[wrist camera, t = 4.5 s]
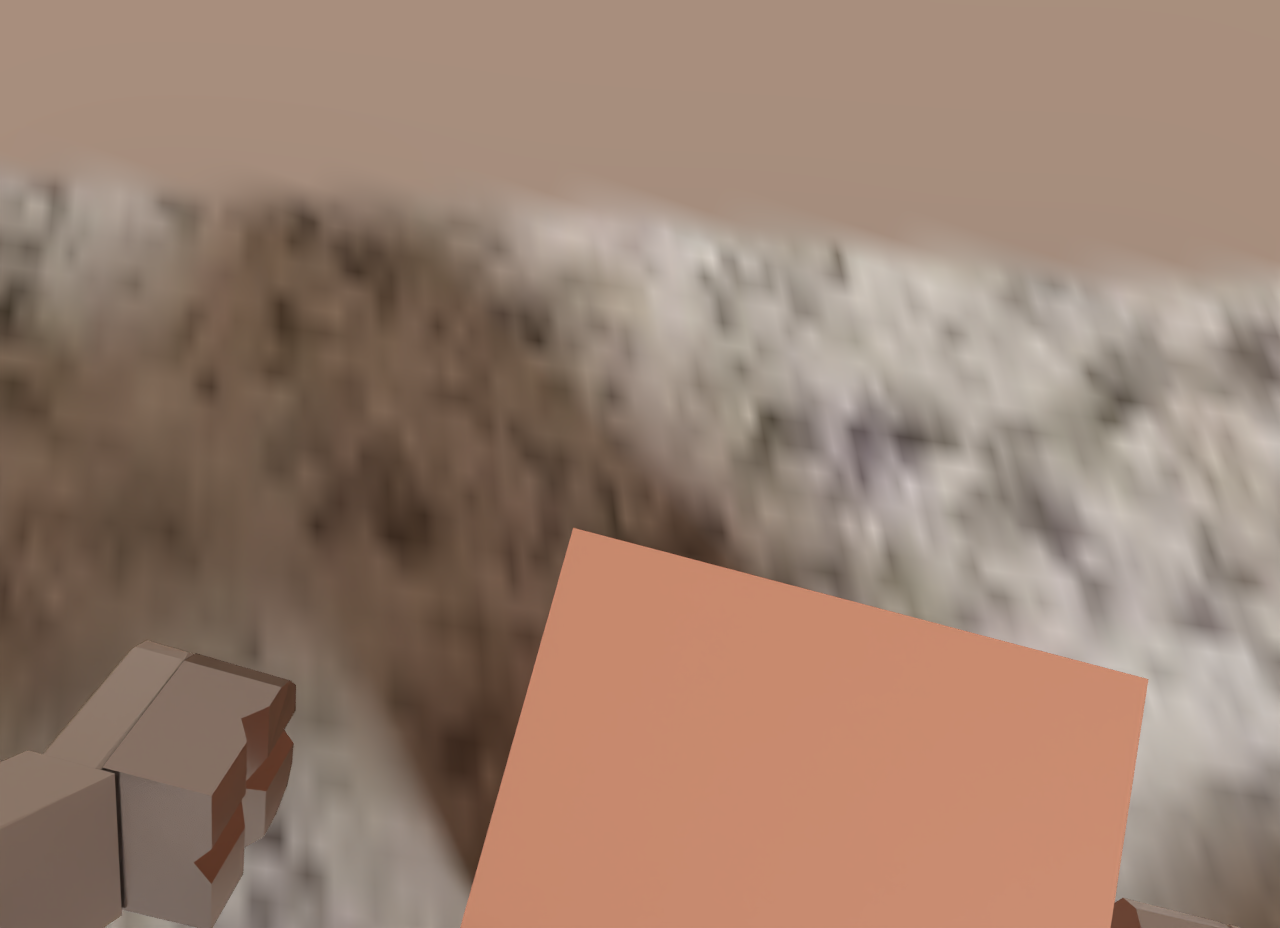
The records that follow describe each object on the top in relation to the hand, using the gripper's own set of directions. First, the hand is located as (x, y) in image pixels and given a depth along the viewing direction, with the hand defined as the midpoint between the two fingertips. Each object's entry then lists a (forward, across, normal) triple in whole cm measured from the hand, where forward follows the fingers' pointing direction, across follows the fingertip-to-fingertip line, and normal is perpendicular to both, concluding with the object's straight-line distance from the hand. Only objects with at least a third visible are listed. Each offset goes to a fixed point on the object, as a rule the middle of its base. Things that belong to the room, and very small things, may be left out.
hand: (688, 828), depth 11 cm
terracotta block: (+4, -1, +4) cm, 6 cm away
